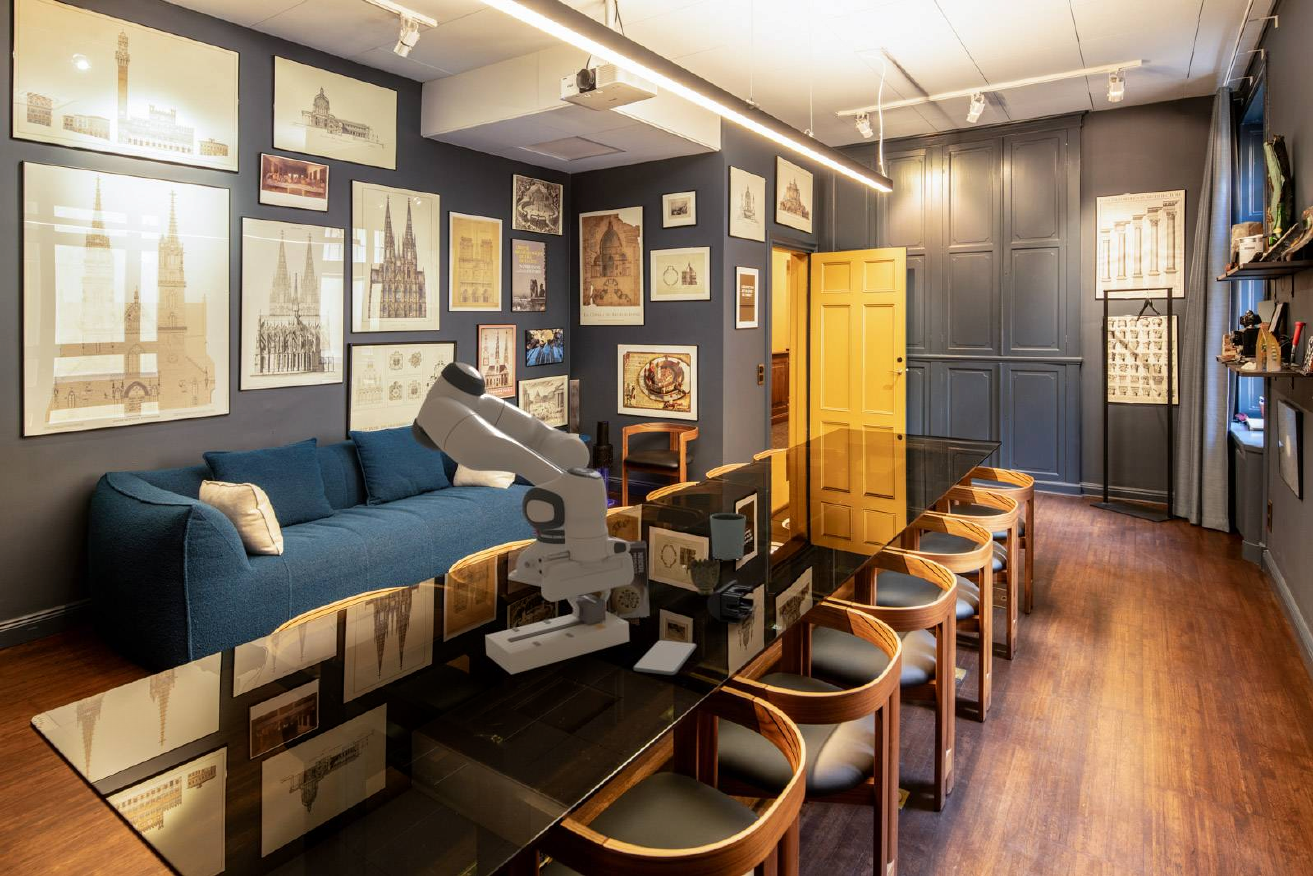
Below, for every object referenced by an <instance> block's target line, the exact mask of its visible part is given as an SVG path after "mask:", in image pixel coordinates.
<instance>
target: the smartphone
mask: <svg viewBox="0 0 1313 876" xmlns="http://www.w3.org/2000/svg"><path fill="white" fill-rule="evenodd" d="M696 648H697V644H696V643H694V642H683V641H682V642H681V641H671V640H657V642H655V643H654V644H653V646H652V647H651V648H649V650H648V651H647V652H646V653H645V654H644V655H643V656H642V657H641V658H640V659H639V660H638V661H637V663H635V665H634V666H633V668H632V670H633V671H634V672H641V673H649V674H658V675H668V676H674V675H676V674H677V673H678V672H679V670H680V669H681V668H682V667H683V665H684V664H685V663H686V661H687V660H688V658H689V657H690V656H691V655H692V653H693V652H694V651H695V649H696Z"/></svg>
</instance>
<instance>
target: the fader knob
mask: <svg viewBox="0 0 1313 876" xmlns="http://www.w3.org/2000/svg"><path fill="white" fill-rule="evenodd" d="M576 603H577V605H578V606H581V607H583V616H579V617H577V618H578V619H580V620H582V621H584V622H586V623H587V624H592V623H596V622H600V621H604V620H606V611H607V608H606V609H605V601H604V600H602V599H600V597H598V596H596V595H594V594H592V593H589V594H584V595H580V596H578V601H576Z"/></svg>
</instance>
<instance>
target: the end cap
mask: <svg viewBox="0 0 1313 876" xmlns="http://www.w3.org/2000/svg"><path fill="white" fill-rule="evenodd" d="M738 583H739V581H738V579H737V580H736V579H735V580H731V581H729V582H727V583H726V584H725V585H723V586H722V587H720V588H719V589H717V590H716V591H713V593H712V594H711V595H709V597H708V599H707V609H708V612H709V613H710V614H711V615H712V616H713V617H714V618H715V619H716V620H717V621H719V622H721V621H722V622H721V623H726V622H728V623H727V624H732V623H739V624H741V623H742V622H743V621H744V620H745V619H746V618H745V617H746V616H747V615H748V614H750V613H751V612H752V611H753V612H754V609H753V608H754V605H755V603H754V602H755V599H754V598H751V597H744V593H745V594H753V595H754V592H755V591H754V586H753V585H748V584H740V583H739V584H738ZM751 614H752V613H751ZM751 614H750V615H751ZM744 618H745V619H744ZM743 619H744V620H743ZM742 620H743V621H742ZM741 621H742V622H741ZM740 622H741V623H740Z"/></svg>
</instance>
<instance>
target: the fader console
mask: <svg viewBox="0 0 1313 876" xmlns="http://www.w3.org/2000/svg"><path fill="white" fill-rule="evenodd" d="M484 637H485V652H486V653H485V654H486V656H487V657H489V658H490V659H491V660H492V661H494V662H495V664H498V665H499V666H500V667H501V668H502V669H503V670H505V671H506V672H508V673H509V674H510V675H515V674H517V673H518V674H519V673H521V672H525V671H529V670H532V669H535V668H539V667H542V666H543V667H544V666H547V665H549V664H553V663H557V662H560V661H564V660H567V659H571V658H575V657H578V656H581V655H582V656H583V655H585V654H589V653H593V652H596V651H599V650H604V649H606V648H610V647H614V646H617V645H621V644H625V643H627V642H630V623H629V621H627V620H625V619H624V618H622V619H621V618H619V617H617V616H615V615H613V614H611V613H609V611H607V610H606V620H604V621H600V622H596V623H592V624H587V623H586V622H584V621H582V620H580V619H578V618H577V617H575V616H574V615H573V612H572V613H571V614H567V615H563V616H558V617H555V618H549V619H543V620H542V621H538V622H537V621H536V622H534V623H531V624H525V625H522V626H518V627H516V626H514V627H511V628H510V629H506V630H501V631H497V632H494V633H489V634H485V635H484Z"/></svg>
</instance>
